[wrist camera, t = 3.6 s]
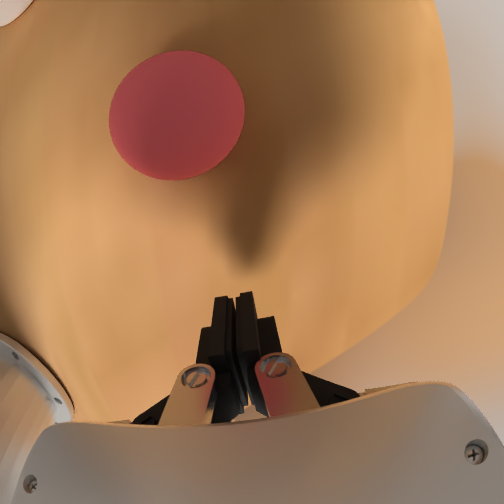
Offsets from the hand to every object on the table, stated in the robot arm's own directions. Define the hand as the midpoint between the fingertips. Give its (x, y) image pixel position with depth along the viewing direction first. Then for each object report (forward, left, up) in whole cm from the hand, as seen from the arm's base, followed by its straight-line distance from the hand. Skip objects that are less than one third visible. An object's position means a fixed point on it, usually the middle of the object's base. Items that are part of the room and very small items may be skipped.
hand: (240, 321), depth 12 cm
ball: (+7, +7, -1) cm, 9 cm away
